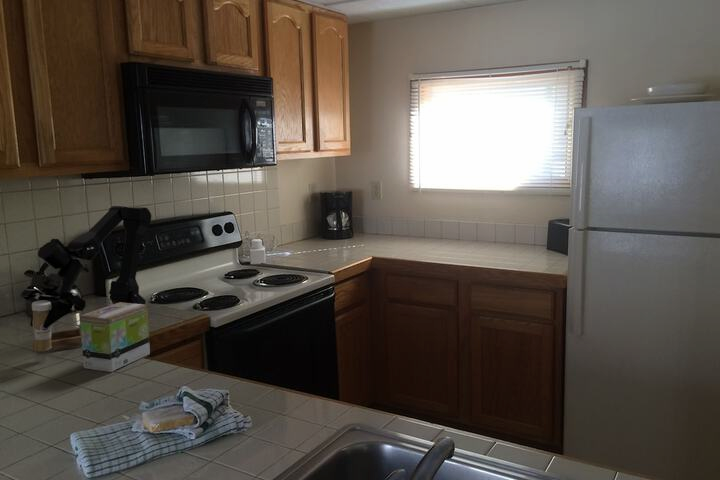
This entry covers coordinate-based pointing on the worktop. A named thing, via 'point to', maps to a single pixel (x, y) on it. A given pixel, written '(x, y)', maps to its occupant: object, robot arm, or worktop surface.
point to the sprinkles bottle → (41, 325)
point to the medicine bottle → (257, 251)
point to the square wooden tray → (66, 339)
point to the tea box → (114, 336)
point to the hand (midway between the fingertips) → (38, 326)
